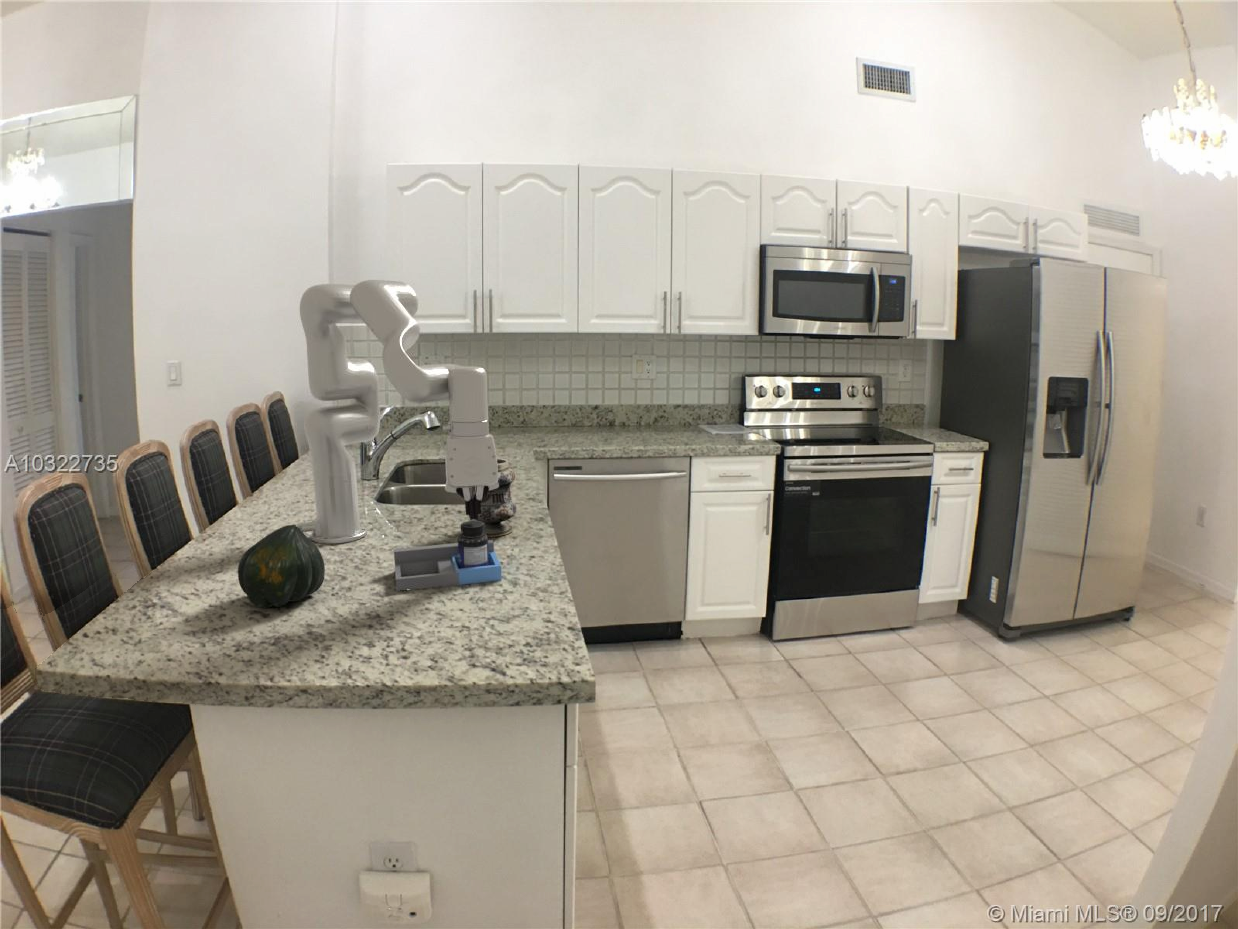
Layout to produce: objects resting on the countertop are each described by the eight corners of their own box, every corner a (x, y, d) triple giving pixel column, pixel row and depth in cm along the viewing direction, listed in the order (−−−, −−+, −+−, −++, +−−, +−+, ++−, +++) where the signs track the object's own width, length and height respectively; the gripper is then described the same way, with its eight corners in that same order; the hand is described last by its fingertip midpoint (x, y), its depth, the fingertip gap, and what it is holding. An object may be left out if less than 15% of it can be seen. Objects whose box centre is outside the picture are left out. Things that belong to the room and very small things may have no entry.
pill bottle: (461, 569, 150) (459, 519, 148) (490, 569, 151) (489, 519, 148) (456, 580, 144) (454, 528, 142) (487, 579, 144) (485, 528, 142)
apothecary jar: (521, 525, 182) (520, 456, 178) (510, 539, 170) (508, 466, 167) (476, 523, 183) (473, 455, 179) (461, 537, 171) (458, 465, 168)
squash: (206, 586, 126) (258, 525, 124) (249, 561, 141) (296, 506, 139) (270, 636, 127) (322, 577, 126) (306, 606, 142) (353, 552, 140)
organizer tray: (396, 591, 138) (395, 567, 137) (395, 571, 149) (393, 549, 148) (501, 580, 144) (500, 556, 143) (493, 561, 155) (492, 539, 154)
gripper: (432, 434, 135) (437, 526, 139) (510, 430, 140) (513, 519, 144) (429, 428, 142) (434, 516, 146) (504, 424, 147) (506, 510, 150)
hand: (473, 517), depth 145 cm, fingers closed
